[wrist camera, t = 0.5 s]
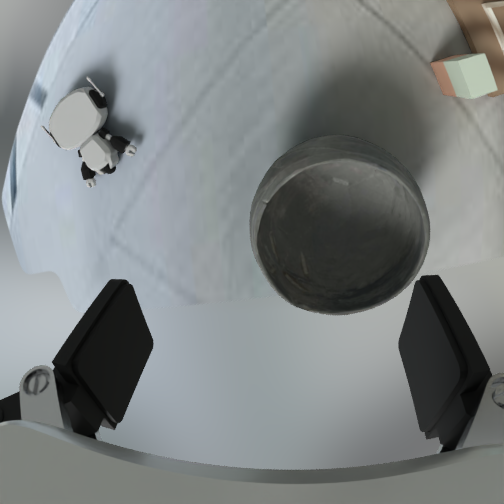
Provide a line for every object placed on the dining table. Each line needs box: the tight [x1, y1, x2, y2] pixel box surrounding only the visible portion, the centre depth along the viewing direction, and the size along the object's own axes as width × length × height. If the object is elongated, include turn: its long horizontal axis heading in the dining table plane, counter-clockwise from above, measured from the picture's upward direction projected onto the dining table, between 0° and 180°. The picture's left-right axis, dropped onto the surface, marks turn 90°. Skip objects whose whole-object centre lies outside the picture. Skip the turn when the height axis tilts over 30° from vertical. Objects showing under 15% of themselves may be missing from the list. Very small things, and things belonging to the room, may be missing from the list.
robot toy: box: [41, 77, 137, 187], centre depth 39 cm, size 12×4×15 cm
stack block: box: [430, 53, 498, 99], centre depth 27 cm, size 5×5×8 cm
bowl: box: [250, 135, 430, 315], centre depth 36 cm, size 21×21×15 cm
